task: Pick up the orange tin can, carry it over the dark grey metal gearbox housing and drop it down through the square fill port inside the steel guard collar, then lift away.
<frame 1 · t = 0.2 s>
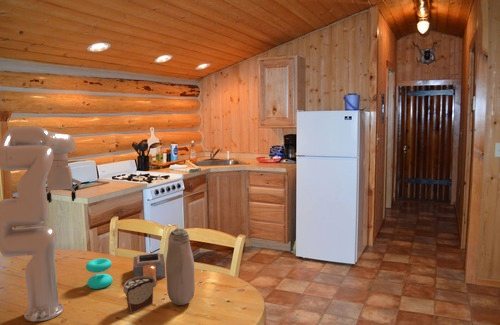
hand: (61, 201, 186), 31 cm above the table, tool pointing down, fingers open, 9 cm apart
beige bottle: (181, 303, 154), on the table
brown piece: (137, 306, 152), on the table
donuts: (100, 285, 171), on the table
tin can: (150, 285, 169), on the table
gearbox housing: (149, 273, 182), on the table
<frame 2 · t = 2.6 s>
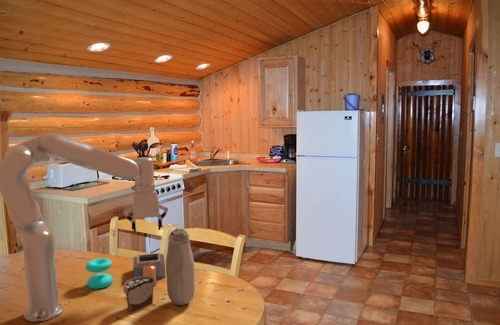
hand: (147, 230, 166), 23 cm above the table, tool pointing down, fingers open, 9 cm apart
nothing on the table moved.
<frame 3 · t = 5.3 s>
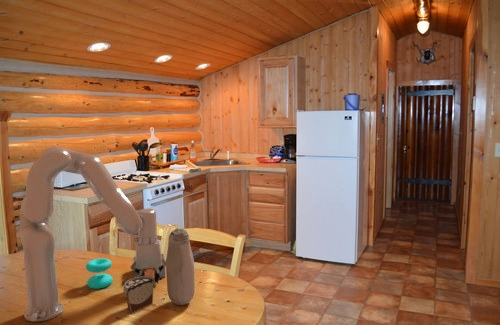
hand: (150, 282, 169), 1 cm above the table, tool pointing down, fingers closed on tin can, 5 cm apart
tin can: (150, 285, 169), on the table, touching gripper
everything else where it was.
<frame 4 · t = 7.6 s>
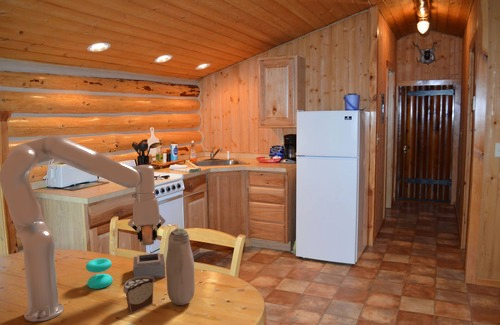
hand: (147, 239, 167), 19 cm above the table, tool pointing down, fingers closed on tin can, 5 cm apart
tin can: (147, 243, 167), point 18 cm above the table, touching gripper
everything else where it was.
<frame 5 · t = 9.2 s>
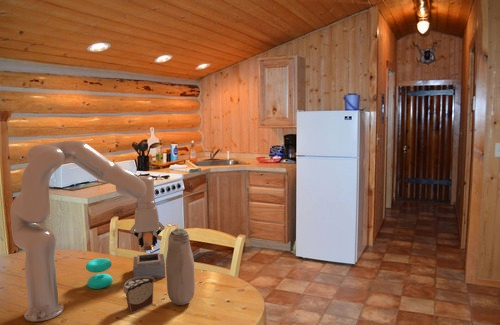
hand: (148, 245, 180), 13 cm above the table, tool pointing down, fingers closed on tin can, 5 cm apart
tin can: (148, 248, 180), point 11 cm above the table, touching gripper
everything else where it was.
when the fingers open (9 cm above the table, at t = 10.3 s): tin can drops 8 cm, resting in gearbox housing.
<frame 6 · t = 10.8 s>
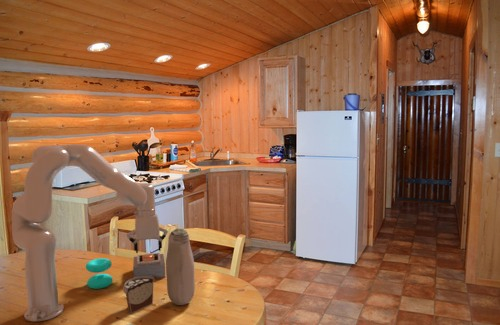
hand: (148, 250, 180), 10 cm above the table, tool pointing down, fingers open, 9 cm apart
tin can: (149, 273, 182), resting in gearbox housing
everything else where it was.
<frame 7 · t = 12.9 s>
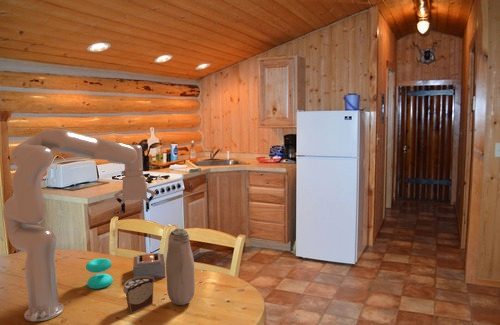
hand: (135, 212, 181), 27 cm above the table, tool pointing down, fingers open, 9 cm apart
nothing on the table moved.
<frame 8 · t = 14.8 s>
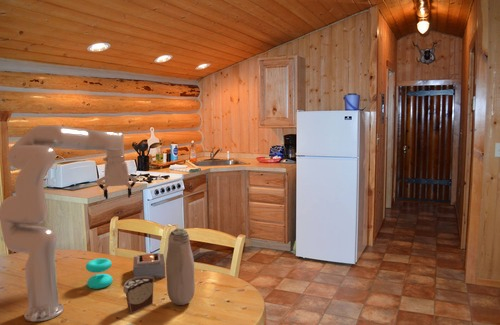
hand: (118, 197, 186), 32 cm above the table, tool pointing down, fingers open, 9 cm apart
nothing on the table moved.
at the end: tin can 0.2 cm off-centre on the gearbox housing, point 0.0 cm above the gearbox housing's base; the gripper is holding nothing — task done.
